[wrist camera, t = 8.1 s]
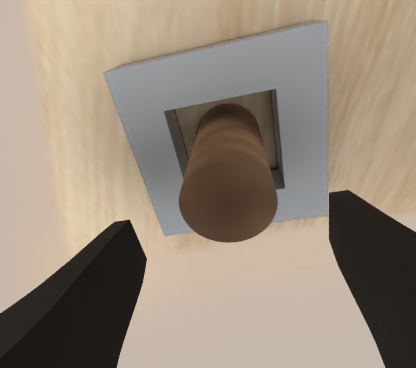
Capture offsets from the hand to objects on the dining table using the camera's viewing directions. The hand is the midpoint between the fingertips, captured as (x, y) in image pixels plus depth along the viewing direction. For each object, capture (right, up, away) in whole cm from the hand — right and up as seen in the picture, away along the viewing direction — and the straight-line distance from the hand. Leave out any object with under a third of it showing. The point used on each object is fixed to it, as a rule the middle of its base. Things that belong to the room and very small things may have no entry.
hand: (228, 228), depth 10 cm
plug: (+1, +5, +8) cm, 9 cm away
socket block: (+1, +5, +8) cm, 9 cm away
